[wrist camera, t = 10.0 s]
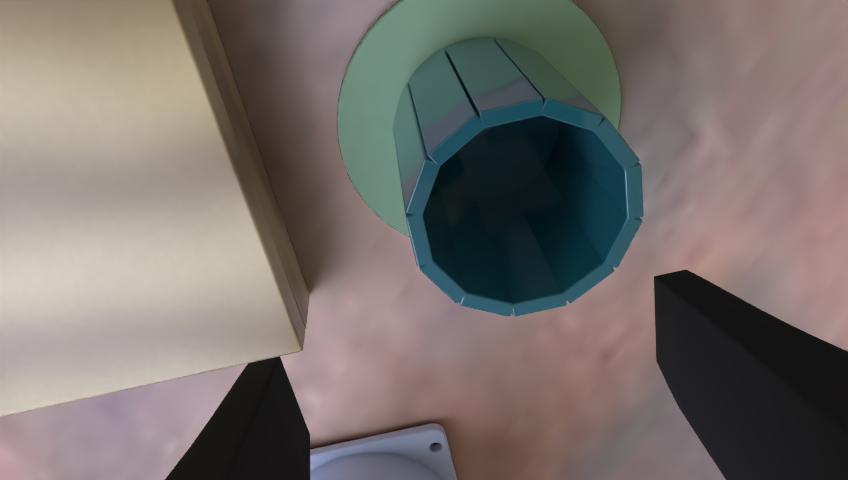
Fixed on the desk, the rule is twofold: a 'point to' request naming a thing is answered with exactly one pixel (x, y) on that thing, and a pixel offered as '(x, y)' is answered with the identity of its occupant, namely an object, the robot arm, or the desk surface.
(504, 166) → the cup
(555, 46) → the coaster
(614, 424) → the desk surface
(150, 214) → the shelf
